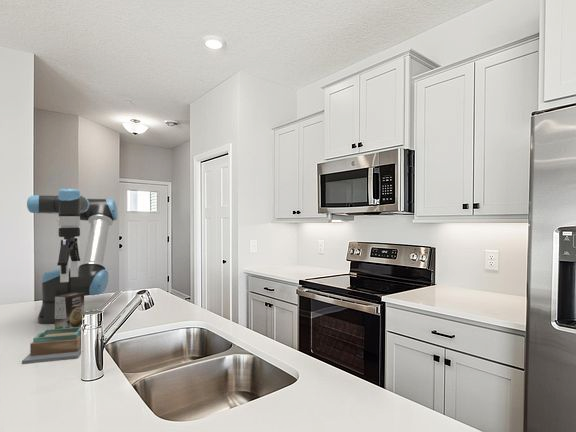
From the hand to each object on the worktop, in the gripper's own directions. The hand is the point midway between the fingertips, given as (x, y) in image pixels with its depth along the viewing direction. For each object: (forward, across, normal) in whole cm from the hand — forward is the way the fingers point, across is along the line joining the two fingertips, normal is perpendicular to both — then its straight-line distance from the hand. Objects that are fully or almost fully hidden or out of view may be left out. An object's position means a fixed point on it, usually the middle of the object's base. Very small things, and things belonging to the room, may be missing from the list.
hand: (69, 279), depth 149 cm
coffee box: (+22, 0, 0) cm, 22 cm away
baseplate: (+22, +20, +2) cm, 30 cm away
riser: (+22, +20, +2) cm, 30 cm away
